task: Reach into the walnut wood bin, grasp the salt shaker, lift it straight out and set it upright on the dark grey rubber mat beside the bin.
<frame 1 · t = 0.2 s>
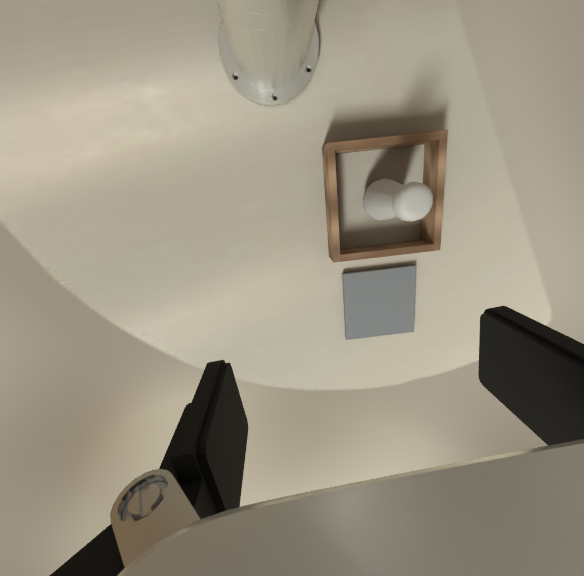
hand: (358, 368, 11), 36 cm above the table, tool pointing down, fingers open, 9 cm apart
salt shaker: (377, 199, 44), resting in bin
bin: (377, 199, 44), on the table
mat: (378, 302, 49), on the table
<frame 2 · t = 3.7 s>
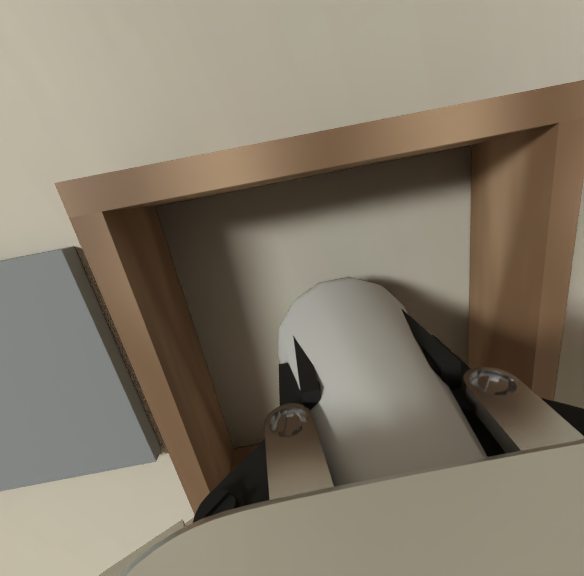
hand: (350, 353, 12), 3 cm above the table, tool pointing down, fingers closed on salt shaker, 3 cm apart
salt shaker: (333, 318, 15), resting in bin, touching gripper
bin: (334, 320, 15), on the table
mat: (8, 382, 15), on the table
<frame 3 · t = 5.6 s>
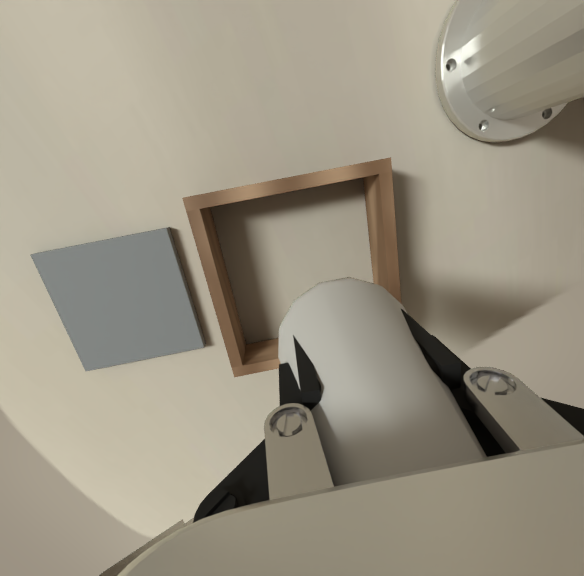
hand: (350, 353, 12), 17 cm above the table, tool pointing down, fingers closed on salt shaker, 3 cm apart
salt shaker: (333, 318, 15), point 13 cm above the table, touching gripper
bin: (300, 267, 28), on the table
mat: (127, 301, 28), on the table
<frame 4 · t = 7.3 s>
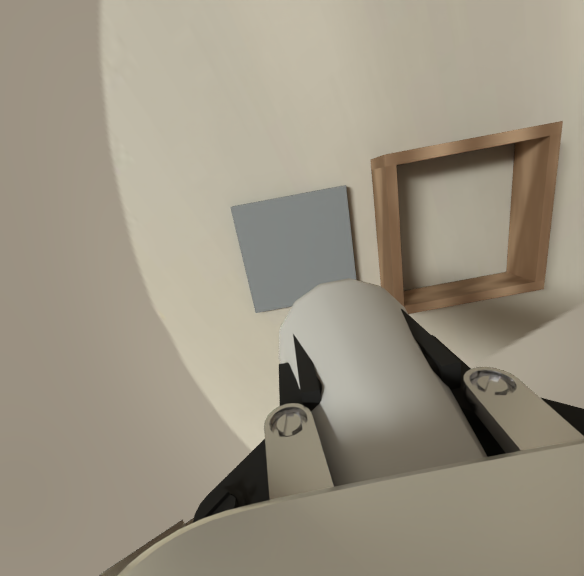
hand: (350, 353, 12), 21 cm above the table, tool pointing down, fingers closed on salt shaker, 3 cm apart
salt shaker: (333, 319, 15), point 18 cm above the table, touching gripper
bin: (448, 223, 32), on the table
mat: (297, 251, 32), on the table
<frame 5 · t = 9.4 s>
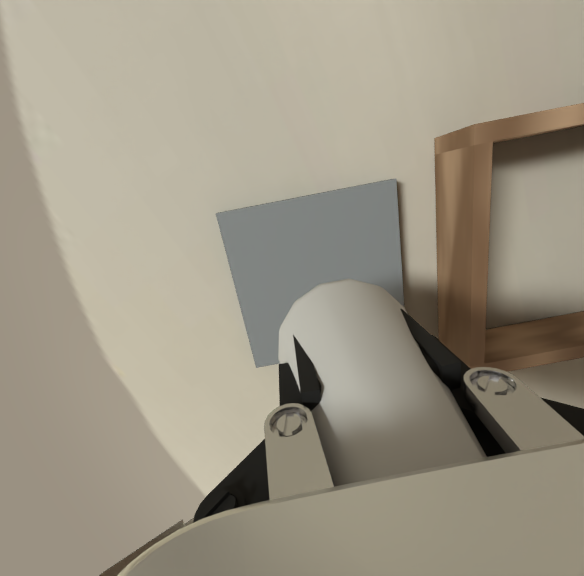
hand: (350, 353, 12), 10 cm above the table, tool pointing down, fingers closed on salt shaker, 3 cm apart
salt shaker: (333, 320, 15), point 7 cm above the table, touching gripper
bin: (543, 235, 21), on the table
mat: (318, 279, 21), on the table
when the fingers open (5 cm above the table, at t = 11.1 s): salt shaker drops 1 cm, resting on mat.
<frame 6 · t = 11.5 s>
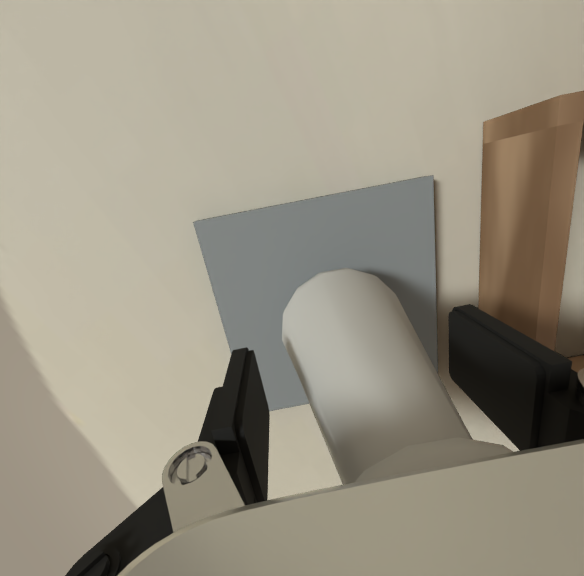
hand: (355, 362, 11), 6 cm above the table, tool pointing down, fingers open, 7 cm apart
salt shaker: (332, 307, 16), point 1 cm above the table, touching mat
mat: (327, 304, 17), on the table
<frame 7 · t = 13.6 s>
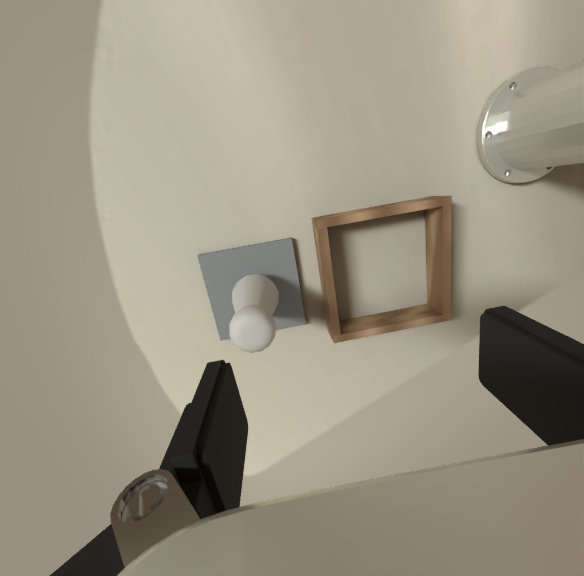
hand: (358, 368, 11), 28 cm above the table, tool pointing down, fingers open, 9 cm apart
salt shaker: (255, 290, 38), point 1 cm above the table, touching mat
bin: (377, 266, 39), on the table
mat: (254, 289, 39), on the table
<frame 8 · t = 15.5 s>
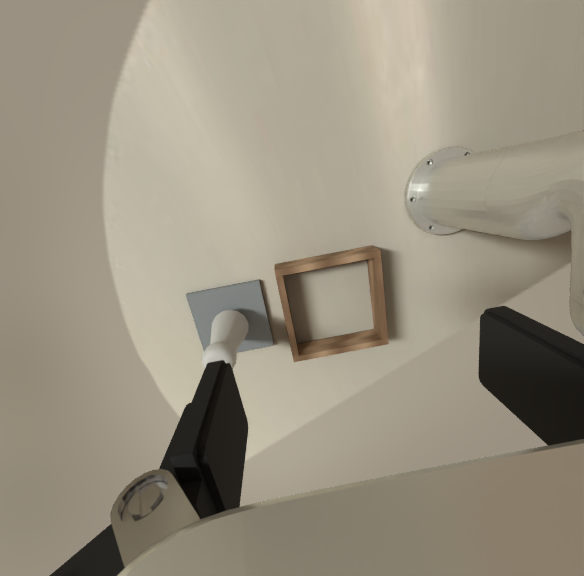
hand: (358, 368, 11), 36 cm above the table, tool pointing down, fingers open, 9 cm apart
salt shaker: (232, 320, 48), point 1 cm above the table, touching mat
bin: (330, 300, 49), on the table
mat: (232, 319, 49), on the table
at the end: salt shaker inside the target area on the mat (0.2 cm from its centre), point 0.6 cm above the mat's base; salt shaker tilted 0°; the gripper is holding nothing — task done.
